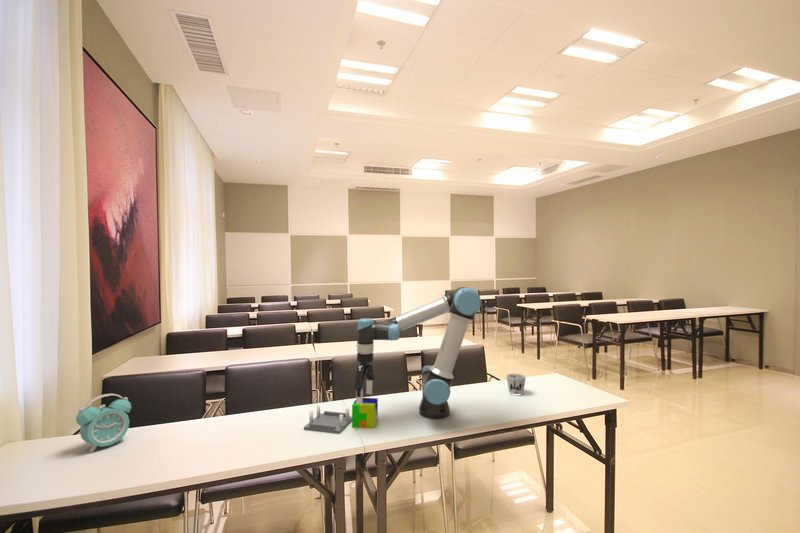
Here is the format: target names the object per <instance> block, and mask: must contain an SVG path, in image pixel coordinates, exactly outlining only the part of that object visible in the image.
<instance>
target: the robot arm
mask: <svg viewBox="0 0 800 533" xmlns="http://www.w3.org/2000/svg"><path fill="white" fill-rule="evenodd" d="M481 304H482V300H481V296H480V294H479V293H478V292H477V291H476V290H475V288H474V289H473V288H472V287H466V286H461V287H457V288H456V289H454V290H453V291H450V292H448V293H446V294H443V296H442V298H438V299H437V300H434V301H432V302H428V303H426V304H424V305H422V306H420V307H416V308H414V309H411V310H409V311H406V312H404V313H402V314H399V315H397V316H393V317H392V318H386V319H385V320H383V322H382V323H377V322H376V323H375V320H374V319H373V318H366V317H365V318H364V317H363V318H359V320H358V321H357V328H356V330H357V332H356V335H357V336H356V338H357V340H356V341H357V342H356V343H357V344H356V347H357V349H356V352H357V353H356V361H357V362H358V363H359V364H360V365H358V366H357V367H356V368H357V369H356V370H357V371H356V375H355V382H354V388H353V389H354V390H355V391H356V392H355V395H356V396H355V400H356V404H362V398H363V395H364V394H363V392H364V390H363V385H364V381H365V377H366V388H365V390H366V395H373V381H374V380H375V372H374V368H373V366H374V365H373V361H374V344H375V343H374V341H398V340H400V332H402V331H404V330H407V329H409V328H412V327H414V326H417V325H420V324H423V323H425V322H427V321H430V320H432V319H436V318H437V317H441V316H442V315H445V314H448V313H449V316H450V318H449V321H448V324H447V327H446V329H445V332H444V336H443V338H442V341H441V344H440V346H439V347H440V348H439V350H438V353H437V356H436V359H435V362H434V364H433V365H432V364H431V365H424V366H423V367H422V372H421V374H422V397H421V400H420V404H419V408H418V412H419V415H420V416H422V417H423V418H426V419H435V420H436V419H444V418H447V417H448V416H450V414H451V412H450V411H451V410H450V406H449V403H448V400H449V398H450V396H451V386H452V383H453V380H454V375H453V370H454V366H455V364H456V362H457V359H458V356H459V352H460V350H461V347H462V344H463V341H464V338H465V335H466V333H467V328H468V326H469V324H470V323H471V322H473V321H474V320H475V316H476V313H478V311H479V310H480V308H481Z"/></svg>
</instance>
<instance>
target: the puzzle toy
mask: <svg viewBox="0 0 800 533" xmlns="http://www.w3.org/2000/svg"><path fill="white" fill-rule="evenodd" d="M378 399H379V398H376V397H375V398H374V397H362V404H356V399H355V400H354V402H352V405H351V417H352V421H351V422H352V423H351V428H353V429H354V428H355V429H375V428H376V426H377V422H378V420H379V414H378V413H379V408H378V406H379V403H378V402H379V400H378Z"/></svg>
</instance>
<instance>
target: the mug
mask: <svg viewBox="0 0 800 533" xmlns="http://www.w3.org/2000/svg"><path fill="white" fill-rule="evenodd" d="M526 378H527V377H526V375H524V374H521V373H520V374H519V373H507V374H506V380H507V387H508V392H510V393H513V394H523V395H524V392H525V385H526V384H525V383H526ZM510 393H509V394H510Z"/></svg>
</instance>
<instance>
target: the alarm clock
mask: <svg viewBox="0 0 800 533" xmlns="http://www.w3.org/2000/svg"><path fill="white" fill-rule="evenodd" d="M109 396H116V397H118V399H115V400H114V401H112V402H111V403H110V404H109V405H108V407H106V404H102V405H99V406H98V407H97V406H90V405H91V404H92V403H93V402H95V401H96V400H98V399H102V398H105V397H109ZM131 409H132V403H131V402H130V401H129V399H128V397H127V396H124V397H123V396H121V395H120V394H116V393H104V394H101V395H98V396H95V397H94V398H92V399H91V400H89V401H88V402H87V403H86V404H85V405H84V406H83V407H80V408H79V409H78V411H77V412H78V413H77V414H76V416H75V417H76V418H75V422H76V423H77V425H78V426H80V429H79V434H80V438H81V439H82V440H83V441H84V442H86V444H90V445H92V446H91V448H90V449H89V451H88V453H93V452H95V451H96V449H97V448H98V447H101V448H102V447H109V446H111V445H113V444H115V443H118V442H120V443H123V442H125V441H126V440H125V439H124V436H126V434H127V432H128V431H129V427H130V422H131V421H130V418H129V415H128V414H129V413H130V411H131ZM127 413H128V414H127Z"/></svg>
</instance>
